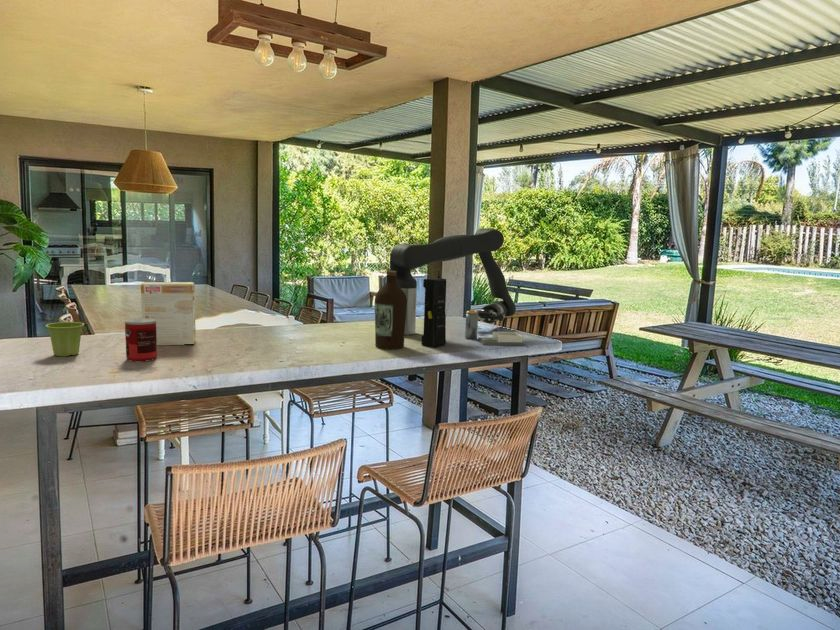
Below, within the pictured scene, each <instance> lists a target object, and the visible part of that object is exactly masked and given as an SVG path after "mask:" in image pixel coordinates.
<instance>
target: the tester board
mask: <svg viewBox="0 0 840 630" xmlns="http://www.w3.org/2000/svg"><path fill="white" fill-rule="evenodd" d="M523 337H524V336H523V335H522V334H520V333H519V332H517V331H492V337H486V336H485V337H481V336H480V337H478V336H477V340H478V342H480V343H481V344H482V345H483V346H524V342H523Z"/></svg>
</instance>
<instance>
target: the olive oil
mask: <svg viewBox="0 0 840 630" xmlns="http://www.w3.org/2000/svg"><path fill="white" fill-rule="evenodd" d="M385 278H386V280H385V281H386V282H385V283H384V284H383V286H381V288H379V290H377V292H376V294H375V297H374V322H375V323H374V328H375V329H374V330H375V333H374V334H375V338H374V339H375V341H374V342H375V343H374V344H375V347H376V348H377V349H382V350H399V349H400V350H401V349H403V348H404V347H405V336H406V335H405V321H406V309H407V298H406V294H405V293H404V291H403V290H402V289H401V288H400V287H399V286H398V284H397V282H396V280H397V276H396V271H390V270H387V271H386V277H385Z"/></svg>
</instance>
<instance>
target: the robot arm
mask: <svg viewBox="0 0 840 630" xmlns="http://www.w3.org/2000/svg"><path fill="white" fill-rule="evenodd" d="M504 242H505V236H504V234H503V233H502V232H501V231H500V230H498V229H497V228H479V229H477V230H476V231H475V232H474V234H455V235H448V236H447V235H446V236H443V237H441V238H437V239H436V240H434V241H433V242H431V243H426V244H412V243H411V244H409V243H398V244H396V245H395V246H393V248H391V251H390V254H389V271H396V276H397V280H396V282H397V284H398V286H399V287H400V288H401V289H402V290H403V291H404V293H405V294H406V298H407V309H406V321H405V335H404V336H406V335H407V336H409V335H415V334H416V329H417V326H416V324H417V321H416V320H417V319H416V317H417V295H418V294H417V292H418V291H417V290H418V289H417V288H418V281H417V279H416V278H414V277H413V275H412V271H411V270H415V269H418V268H421V267H424V266H426V265H429V264H432V263H441V262H448V261H453V260H457V259H460V258H465V257H468V256H472V255H476V254H478V257H479V259H480V261H481V264H482V266H483V269H484V271H485V274H486V277H487V280H488V285H489V291H490V294H491V296H492V298H495V299H500V300H497V301H496V300H495V301H493V302H491V303H489V304H485V305H484V306H483V307H481V309H479V310H475V311H477V312H478V320H482V321H483V322H484V323H486V324H494V323H495V322H498V321H499V322H502V321H504V320H505V318H507V317H512V316H514V315H515V314H516V308H517V307H516V304H515V302H514V300H513V298H512V296H511V294H510V292H509V290H508V286H507V282H506V278H505V275H504V272H503V271H502V270H501V268H500V267H499V265H498V264H497V262H496V260H495V258H494V256H493V252H496V251H499V250H500V249H501V248H502V247H503V245H504Z"/></svg>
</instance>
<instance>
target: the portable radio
mask: <svg viewBox="0 0 840 630" xmlns="http://www.w3.org/2000/svg"><path fill="white" fill-rule="evenodd" d="M440 272H441V271H439V270H438V276H437V277H435V278H434V277H433V278H423V279H422V280H423V284H422V287H423V288H424V311H423V334H422V335H421V343H420V344H421V345H422V346H425V347H429V346H430V347H431V348H438V347H441V345H442V346H445V345H446V343H447V341H446V340H447V337H446V335H447V334H446V333H447V331H446V322H447V321H446V319H447V318H446V315H447V313H446V301H447V300H446V299H447V298H446V297H447V279H446V278H441V276H440ZM437 346H438V347H437ZM430 347H429V348H430Z"/></svg>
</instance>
